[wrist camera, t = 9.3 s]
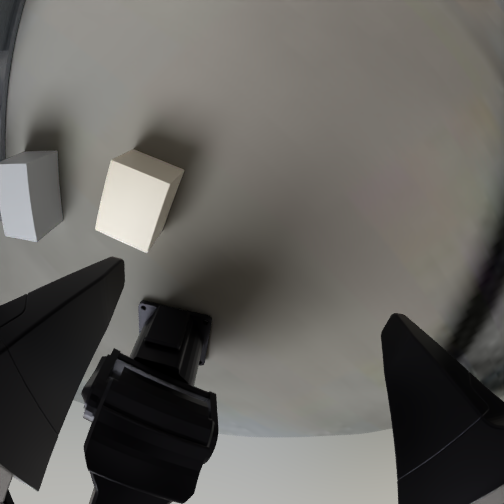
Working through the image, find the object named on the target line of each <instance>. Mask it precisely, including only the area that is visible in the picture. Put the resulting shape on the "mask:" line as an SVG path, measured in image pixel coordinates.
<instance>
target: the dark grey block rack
mask: <svg viewBox="0 0 504 504" xmlns="http://www.w3.org/2000/svg"><path fill="white" fill-rule="evenodd" d="M24 3H25V0H0V161H3V160H5V118H6V102H7V90H8V81H9V73H10V66H11V60H12V54H13V49H14V43H15V39H16V34H17V30H18V25H19V21H20V17H21V14H22V10H23V6H24ZM0 221H2V218H1V212H0Z"/></svg>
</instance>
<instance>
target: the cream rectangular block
mask: <svg viewBox="0 0 504 504" xmlns="http://www.w3.org/2000/svg"><path fill="white" fill-rule="evenodd" d="M184 171H185V170H183V169H181V168H179V167H176V166H174V165H171V164H169V163H167V162H164V161H162V160H159V159H157V158H154V157H152V156H149V155H147V154H144V153H142V152H139V151H137V150H134V149H133V150H131V151H129V152H126V153H124V154H122V155H120V156H118V157H116V158H114V159H112V160H111V163H110V166H109V170H108V174H107V178H106V182H105V186H104V190H103V194H102V198H101V203H100V208H99V212H98V217H97V222H96V227H95V230H97V231H99V232H101V233H103V234H106V235H108V236H110V237H112V238H114V239H116V240H119V241H121V242H123V243H125V244H127V245H130V246H132V247H134V248H136V249H139V250H141V251H143V252H145V253H148V251H149V250H150V248H151V247H152V245H153V244H154V242H155V241H156V239H157V238H158V237H159V235H160V234H161V232H162V230H163V228H164V225H165V222H166V219H167V216H168V213H169V210H170V208H171V205H172V202H173V199H174V197H175V194H176V191H177V189H178V186H179V183H180V181H181V178H182V176H183V173H184Z"/></svg>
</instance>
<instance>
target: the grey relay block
mask: <svg viewBox="0 0 504 504" xmlns="http://www.w3.org/2000/svg"><path fill="white" fill-rule="evenodd" d="M0 212H1V218H2V223H3V228H4V232H5V236H8V237H13V238H18V239H24V240H29V241H34V242H38V241H39V240H40V239H41V238H43V237H44V236H45V235H46V234H47V233H49V232H50V231H51V230H52V229H54V228H55V227H56V226H57V225H59V224H60V223H61V222H62V221H63V214H62V206H61V196H60V185H59V171H58V151H24V152H22V153H19V154H17V155H15V156H12V157H10V158H7V159H5V160H3V161H0Z"/></svg>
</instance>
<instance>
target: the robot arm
mask: <svg viewBox="0 0 504 504" xmlns="http://www.w3.org/2000/svg"><path fill="white" fill-rule="evenodd" d="M124 283H125V272H124V261H123V259H121V258H117V257H109V258H107V259H104V260H102V261H100V262H97V263H95V264H92V265H90V266H88V267H85V268H83V269H81V270H79V271H76V272H74V273H72V274H69V275H67V276H65V277H63V278H60V279H58V280H56V281H54V282H51V283H49V284H47V285H45V286H42V287H40V288H38V289H36V290H34V291H32V292H29V293H28V295H27V294H25V295H23V296H21V297H19V298H17V299H14V300H12V301H10V302H8V303H6V304H3V305H1V306H0V504H14V502H13V500H12V498H11V495H10V493H9V490H8V488H9V485H10V482H11V480H12V477H14V478H16V479H18V480H19V481H21V482H22V483H24V484H26V485H27V486H29V487H31V488H33V489H35V490H36V491H39V489H40V486H41V483H42V480H43V477H44V474H45V471H46V468H47V465H48V462H49V459H50V456H51V453H52V451H53V449H54V446H55V443H56V441H57V438H58V434H59V432H60V430H61V427H62V425H63V422H64V420H65V417H66V415H67V413H68V410H69V408H70V406H71V403H72V401H73V399H74V396H75V394H76V392H77V390H78V387H79V385H80V383H81V381H82V379H83V377H84V374H85V372H86V370H87V368H88V366H89V364H90V362H91V360H92V358H93V356H94V353H95V351H96V349H97V347H98V345H99V343H100V341H101V339H102V337H103V335H104V334H105V332H106V330H107V327H108V325H109V323H110V321H111V318H112V315H113V313H114V310H115V308H116V305H117V302H118V300H119V297H120V295H121V292H122V290H123V287H124ZM144 306H145V307H144ZM138 309H139V333H140V334H139V337H138V339H137V341H136V343H135V346H134V348H133V350H132V353H131V355H130V357H128V356H126V355H124V354H122V353H120V351H118V350H117V349H115V348H114V349H113V351H112V353H111V355H109V354H108V355H107V356H104V357H102V358H101V360H100V362H99V364H98V366H97V368H96V369H95V371H94V373H93V374H92V376H91V377H90V379H89V380H88V382H87V383H86V385H85V386H84V388H83V390H82V393H81V395H82V397H83V399H84V402H85V405H84V408H85V412H84V416H83V418H85V419H86V420H88V421H91V422H92V424H91V427H90V430H89V432H88V435H87V438H86V441H85V444H84V452H85V459H86V464H87V468H88V471H90V474H91V478H92V481H93V484H94V490H93V493H92V496H91V499H90V502H89V504H170V503H171V502H173V501H174V502H177V503H181V504H183V503H185V502H186V501H187V500H188V499H189V498H190V497H191V496H192V495H193V494H194V491H195V488H196V484H197V480H198V476H199V473H200V470H201V468H202V465H203V464H205V463H206V462H207V461H208V460H209V458H210V457H211V455H212V453H213V451H214V449H215V446H216V442H217V437H218V416H217V401H216V394H215V393H212V392H207V391H204V390H202V389H199V388H197V387H194V383H195V379H196V374H197V369H198V365H204V363H205V358H206V352H207V346H208V340H209V335H210V329H211V323H212V318H211V317H210V316H208V315H204V314H199V313H195V312H190V311H186V310H181V309H177V308H173V307H168V306H164V305H160V304H156V303H152V302H148V301H141V302H140V304H139V306H138ZM204 320H206V321H208V322H206V321H204ZM381 341H382V352H383V364H384V374H385V381H386V387H387V393H388V399H389V406H390V413H391V421H392V428H393V437H394V446H395V454H396V455H395V456H396V468H397V480H398V481H397V484H398V504H504V402H503V401H502V400H501V399H500V398H499V397H497V396H496V395H495V394H494V393H493V392H491V391H490V390H489V389H488V388H487V387H486V386H484V385H483V384H482V383H481V382H480V381H479V380H478V379H477V378H476V377H474V376H473V375H472V374H471V373H470V372H469V371H468V370H467V369H466V368H465V367H463V366H462V365H461V364H460V363H459V362H458V361H457V360H456V359H455V358H454V357H452V356H451V355H450V354H449V353H448V352H447V351H446V350H445V349H443V348H442V347H441V346H440V345H439V344H438V343H437V342H435V341H434V340H433V339H432V338H431V337H430V336H429V335H427V334H426V333H425V332H424V331H423V330H422V329H420V328H419V327H418V326H417V325H416V324H415V323H413V322H412V321H411V320H410V319H409V318H408V317H406V316H405V315H403V314H398V313H394V314H392V315H391V317H390V318H389V320H388V322H387V323H386V325H385V327H384V328H383V330H382V333H381Z"/></svg>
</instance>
